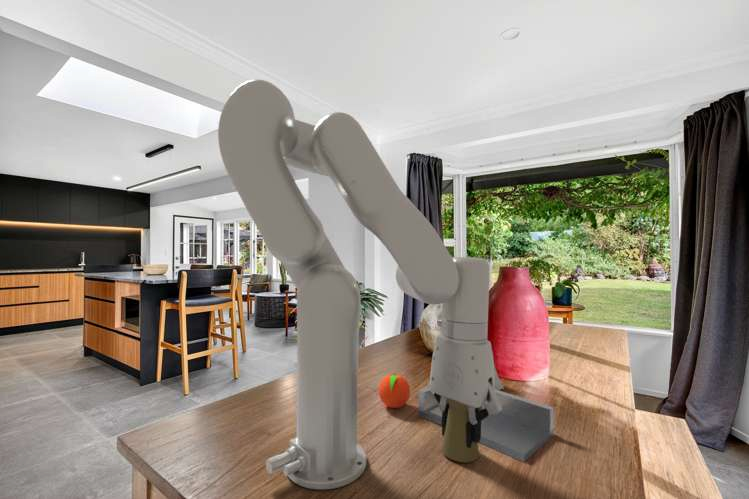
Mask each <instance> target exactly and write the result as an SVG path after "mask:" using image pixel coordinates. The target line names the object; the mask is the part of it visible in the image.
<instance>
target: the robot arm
mask: <svg viewBox="0 0 749 499" xmlns="http://www.w3.org/2000/svg"><path fill="white" fill-rule="evenodd" d="M217 130H218V132H217V134H218V135H217V137H218V147H219V152H220V155H221V159H222V163H223V165H224V168H225V170H226V173H227V174H228V177H229V178H230V181H231V182H232V184H233V187H234V188H235V189H236V192H237V194H238V195H239V197H240V199H241V201H242V203H243V205H244V207H245V209H246V211H247V212H248V214H249V216H250V217H251V220H252V221H253V222H254V225H255V226H256V228H257V230H258V232H259V233H260V235H261V238H262V239H263V241H264V243H265V246H266V248H267V250H268V252H269V253H270V254H271V255H272V256H273V257H274V258H275V259H277V260H278V261H279V262H280V263H281V264H282V266H283V267H284V269H285V271H286V273H287V274H288V276H289V278H290V280H291V282H292V283H293V285H294V286H295V288H296V290H297V296H296V326H297V327H296V331H297V332H296V334H297V335H296V336H297V337H296V338H297V340H296V341H297V342H296V344H297V345H296V346H297V349H296V350H297V351H296V368H297V370H296V371H297V372H296V373H297V374H296V375H297V376H296V388H297V389H296V432H295V433H296V434H295V435H296V436H295V437H294V438H293V437H292V438H291V439H289V447H288V448H285V451H284V452H282V453H280V454H276V455H273V456H272V457H269V458H267V459H266V460H265V469H266V470H267V473H268V474H273V473H275V472H277V471H280V470H282V472H283V475H284V477H288V478H289V480H291V481H292V482H293V483H294V484H297V485H298V486H300V487H303V488H306V489H310V490H322V491H324V490H332V489H336V488H341V487H344V486H347V485H349V484H350V483H352V482H354V481H356V480H357V479H358V478H359V477H361V475H362V474H363V473H364V472H365V469H366V468H367V453H366V451H365V450H364V448H363V447H362V446H361V445H360V444H358V393H359V392H358V388H359V387H358V385H359V383H358V380H359V379H358V377H359V376H358V375H359V360H358V359H359V335H360V334H359V331H360V321H361V320H360V318H361V310H362V309H361V306H362V305H361V304H362V301H361V291H360V287H359V284H358V281H357V280H356V278H355V277H354V275H353V274H352V273H351V272H350V271H349V270H348V269H346V267H345V266H344V264H343V263H342V261H341V259H340V257H339V255H338V254H337V251H336V250H335V248H334V247H333V244H331V242H330V239H329V238H328V236H327V234H326V233H325V230H324V227H323V224H322V221H321V219H320V218H319V217H318V216H317V215H316V213H315V212H314V211H313V209H312V208H311V206H310V205H309V203H308V202H307V200H306V198H305V196H304V195H303V193H302V191H301V190H300V188H299V186H298V185H297V182H296V180H295V179H294V176H293V175H292V173H291V171H290V169H289V167H293V168H296V169H299V170H303V171H305V172H308V173H313V174H317V175H320V176H325V177H328V178H330V179H331V180H332V183H333V184H334V185H335V186H336V188H337V190H338V191H339V193H340V195H341V196H342V198H343V199H344V202H345V203H346V205H347V206H348V208H349V209H350V211H351V213H352V214H353V215H354V218H355V219H356V220H357V221H358V222H359V223H360V224H361V226H362V227H364V228H366V229H367V230H368V231H370V232H371V233H372V234H373V235H374V236H375V237H377V239H378V240H379V241H380V242H381V243H382V244H383V246H384V247H385V248H386V250H387V251H388V252H389V254H390V255H391V256H392V258H393V259H394V261H395V263H396V264H397V266H396V271H395V280H396V284H397V286H398V287H399V289H400V290H401V291H402V292H403V293H405V295H406V296H408V297H409V296H410V297H411V298H413V299H415V300H418V301H420V302H422V303H424V304H426V305H427V304H428V305H433V306H434V305H435V306H436V305H441V304H442V309H441V318H438V319H437V322H436V325H437V326H439V327H441V328H440V331H441V333H438V334H437V335H436V338H435V342H434V347H433V351H432V357H431V366H430V374H429V376H430V377H429V378H430V379H429V380H428V382H427V384H426V387H428V388H429V390H430V391H431V392H432V393H433V394H434V396H435V398H436V400H437V402H438V403H439V409H440V411H442V426H441V430H442V431H441V435H442V437H444V433H445V427H446V422H447V415H448V409H449V404H448V402H447V399H446V398H448V399H452V400H454V401H457V402H459V403H461V404H464V405H467V406H469V407H468V411H469V420H470V421H469V422H467V423H466V445H467V447H468V448H471V445H472V442H475V443H478V444H479V443H480V442H479V441H480V439H481V421H482V420H483V419H485V418H486V417H488V416H491V415H495V414H498V413H499V412H501V411H502V407H501V404H500V402H499V400H498V398H497V396H496V394H495V392H494V390H495V375H494V365H495V362H494V354H493V350H492V343H491V341H490V340H488V327H489V326H488V324H489V301H490V298H489V297H490V293H489V292H490V274H491V273H490V272H491V271H490V269H491V268H490V263H489V262H488V261H487V260H486V259H485V258H482V257H472V256H471V257H470V256H469V257H467V256H452V255H451V254H450V252H449V250H448V248H447V247H446V245H445V243H444V242H443V240H442V238H441V237H440V235H439V234H438V233H437V232H438V231H437V230H436V229H435V228H434V227H433V225H432V223H431V222H430V221H429V220H428V219H427V217H425V215H424V214H423V213H422V212H421V211H420V210H419V209H418V207H417V206H416V205H415V204H414V203H413V202H412V201H411V199H410V198H409V197H407V195H405V194H404V192H402V190H401V188H400V187H399V186H398V184H397V183H396V180H395V179H394V178H393V175H392V174H391V173H390V171H389V170H388V168H387V166H386V165H385V163H384V161H383V160H382V158H381V157H380V155H379V153H378V152H377V149H376V148H375V147H374V145H373V143H372V142H371V140H370V139H369V137H368V135H367V133H366V132H365V130H364V128H363V127H362V125H361V124H360V122H359V121H357V120H356V118H355V117H353V116H351V115H350V114H348V113H346V112H340V111H337V112H336V111H335V112H332V113H330V114H327V115H325V116H324V117H322V118H321V119H320V120H319V121H318V123H316V125H314V124H311V123H307V122H305V121H301V120H298V119H296V118H295V113H294V109H293V106H292V104H291V102H290V100H289V99H288V97H287V96H286V94H285V93H284V92H283V91H282V90H281V89H280V88H279V87H278V86H276V85H275V84H273V83H271V82H269V81H267V80H264V79H251V80H246V81H245V82H243V83H241V84H240V85H239V86H237V87H236V88H235V89H234V90H233V91H232V92H231V94H230V95H229V97H228V98H227V100H226V102H225V104H224V105H223V108H222V110H221V114H220V116H219V122H218V129H217ZM288 166H289V167H288ZM485 401H487V402H488V404H489V407H486V408H484V406H483V405H484V404H485Z"/></svg>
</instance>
